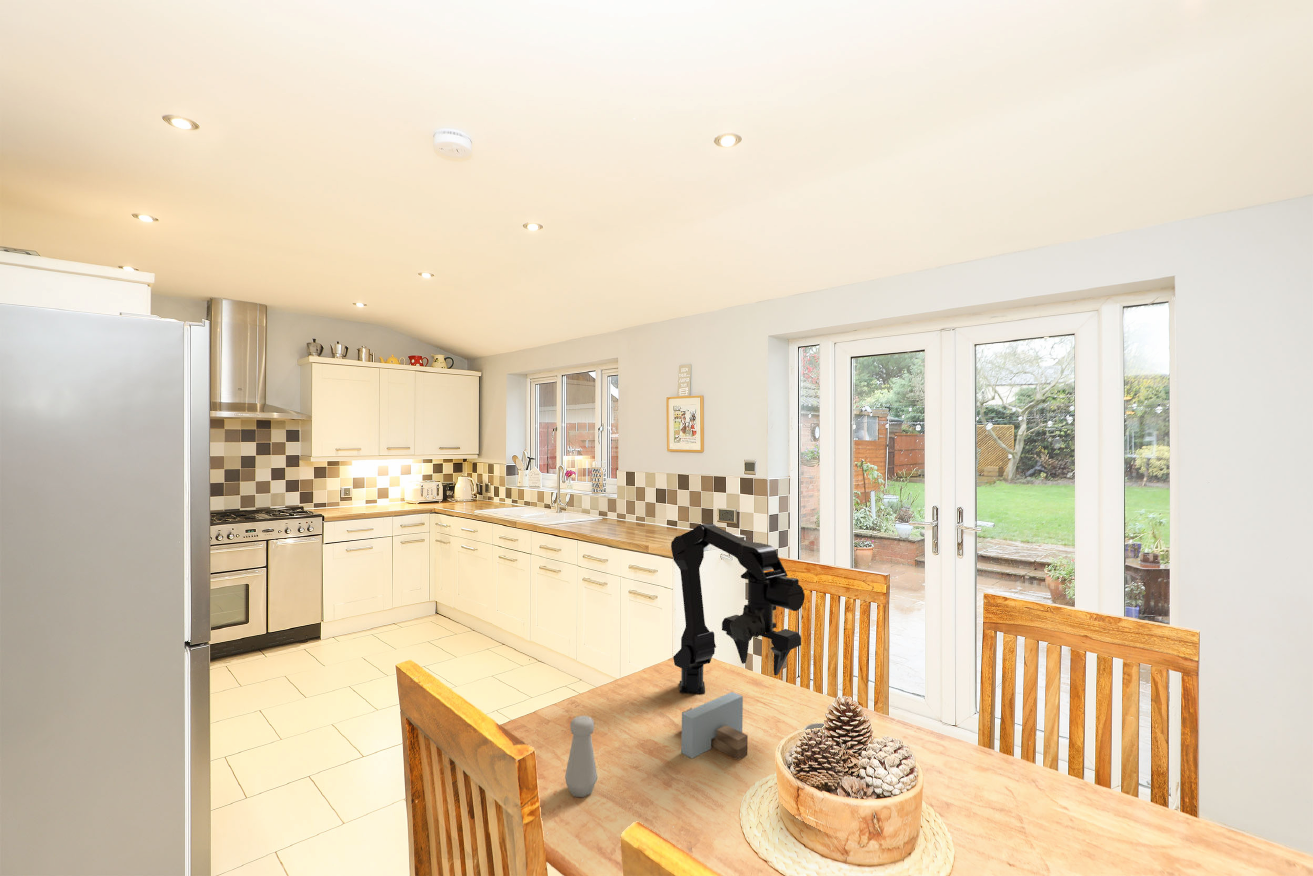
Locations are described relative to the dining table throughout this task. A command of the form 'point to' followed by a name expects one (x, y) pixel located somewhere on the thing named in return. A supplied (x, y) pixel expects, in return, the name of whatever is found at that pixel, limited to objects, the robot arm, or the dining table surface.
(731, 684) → the dining table surface
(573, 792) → the salt shaker
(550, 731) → the dining table surface
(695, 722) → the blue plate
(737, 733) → the walnut rail
